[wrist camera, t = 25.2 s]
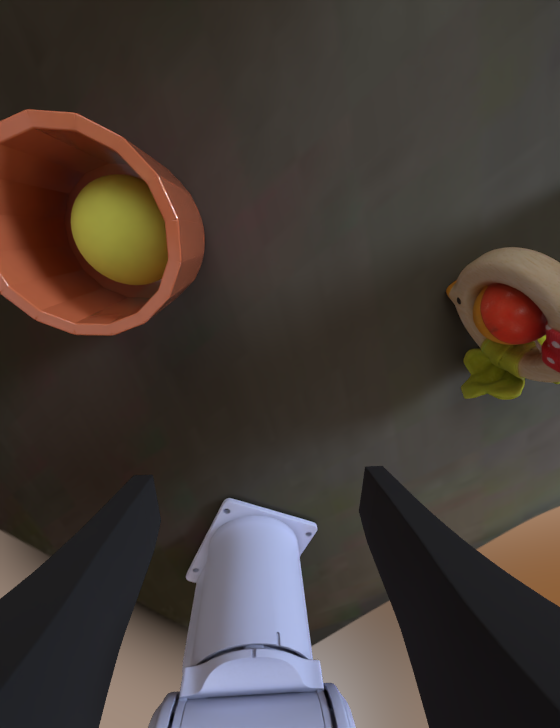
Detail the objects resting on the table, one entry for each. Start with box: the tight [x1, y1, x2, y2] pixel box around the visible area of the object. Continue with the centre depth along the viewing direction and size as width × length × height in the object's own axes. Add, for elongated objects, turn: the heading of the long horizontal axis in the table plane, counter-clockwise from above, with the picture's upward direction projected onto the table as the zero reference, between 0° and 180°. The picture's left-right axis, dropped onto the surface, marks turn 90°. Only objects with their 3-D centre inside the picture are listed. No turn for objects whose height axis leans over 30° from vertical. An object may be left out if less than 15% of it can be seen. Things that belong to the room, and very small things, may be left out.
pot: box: [0, 109, 205, 336], centre depth 14 cm, size 7×7×6 cm
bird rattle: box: [446, 247, 560, 400], centre depth 15 cm, size 6×11×9 cm
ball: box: [71, 174, 168, 285], centre depth 14 cm, size 5×5×5 cm
